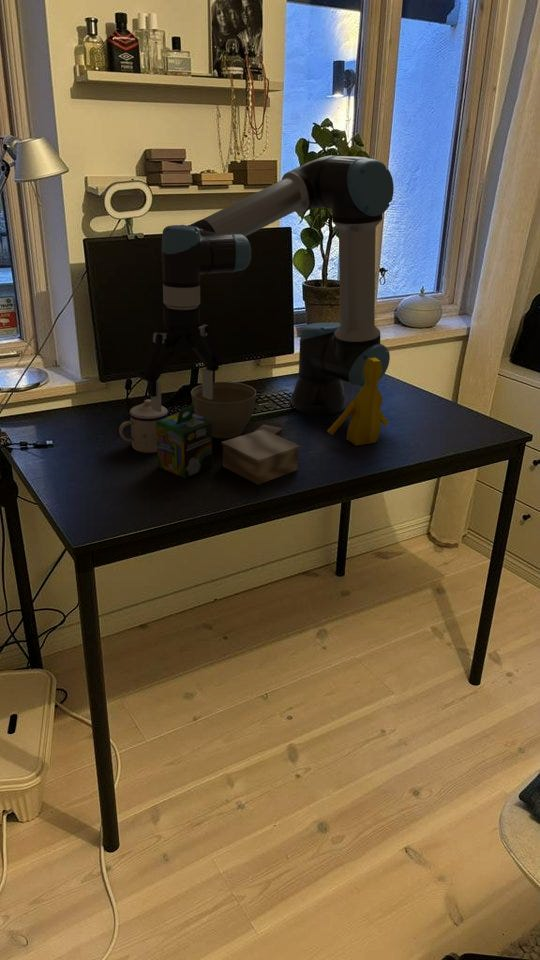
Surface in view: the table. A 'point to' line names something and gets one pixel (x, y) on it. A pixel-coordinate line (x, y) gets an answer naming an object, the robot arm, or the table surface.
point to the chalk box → (184, 443)
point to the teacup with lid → (143, 427)
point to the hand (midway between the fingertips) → (182, 403)
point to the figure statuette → (364, 408)
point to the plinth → (260, 456)
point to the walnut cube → (271, 429)
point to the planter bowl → (226, 407)
